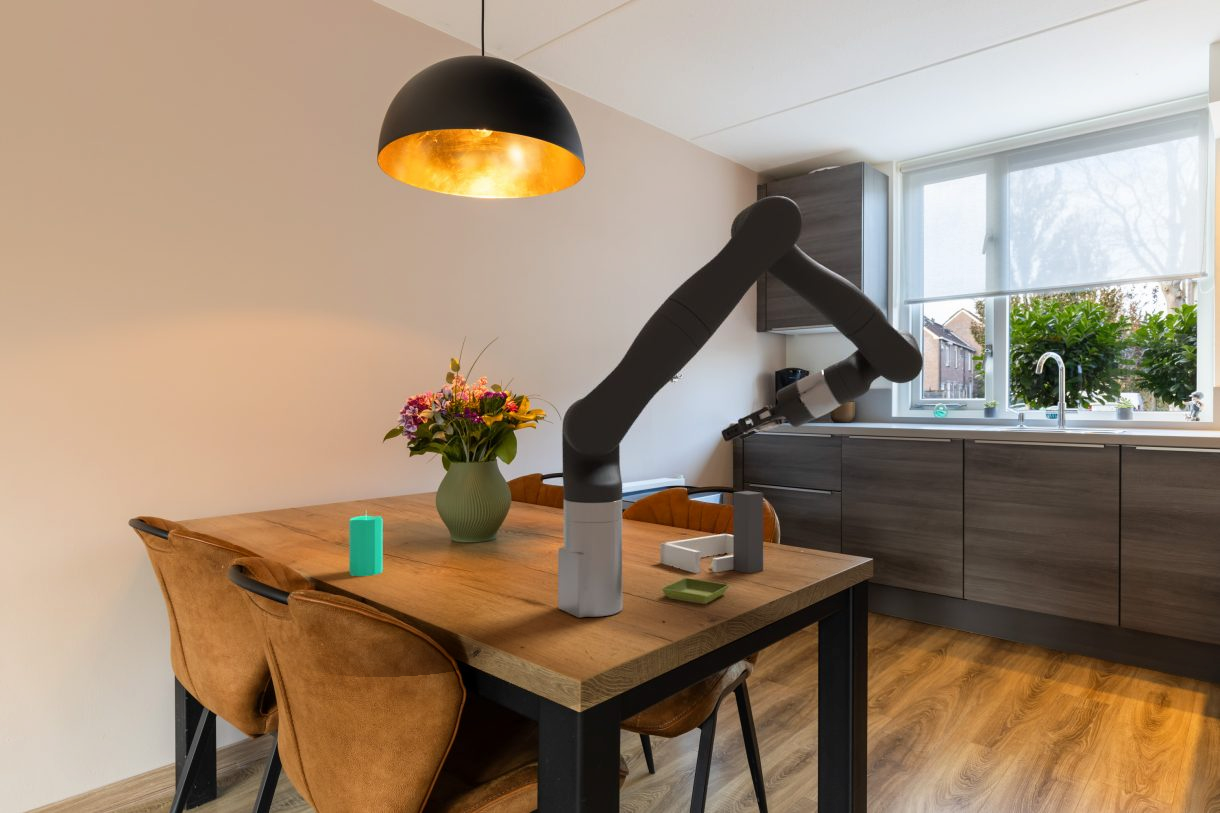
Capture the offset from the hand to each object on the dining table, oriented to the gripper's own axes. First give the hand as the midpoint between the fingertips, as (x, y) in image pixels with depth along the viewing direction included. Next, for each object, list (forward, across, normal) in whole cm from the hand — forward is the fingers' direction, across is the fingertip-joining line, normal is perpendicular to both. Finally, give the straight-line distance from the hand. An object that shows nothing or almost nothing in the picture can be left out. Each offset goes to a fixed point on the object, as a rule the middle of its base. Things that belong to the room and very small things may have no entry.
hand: (731, 435), depth 132 cm
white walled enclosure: (+17, -7, +21) cm, 28 cm away
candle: (+66, +34, -3) cm, 75 cm away
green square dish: (+11, +18, +24) cm, 32 cm away
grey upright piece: (+10, -4, +24) cm, 26 cm away
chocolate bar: (+15, -7, +23) cm, 28 cm away
